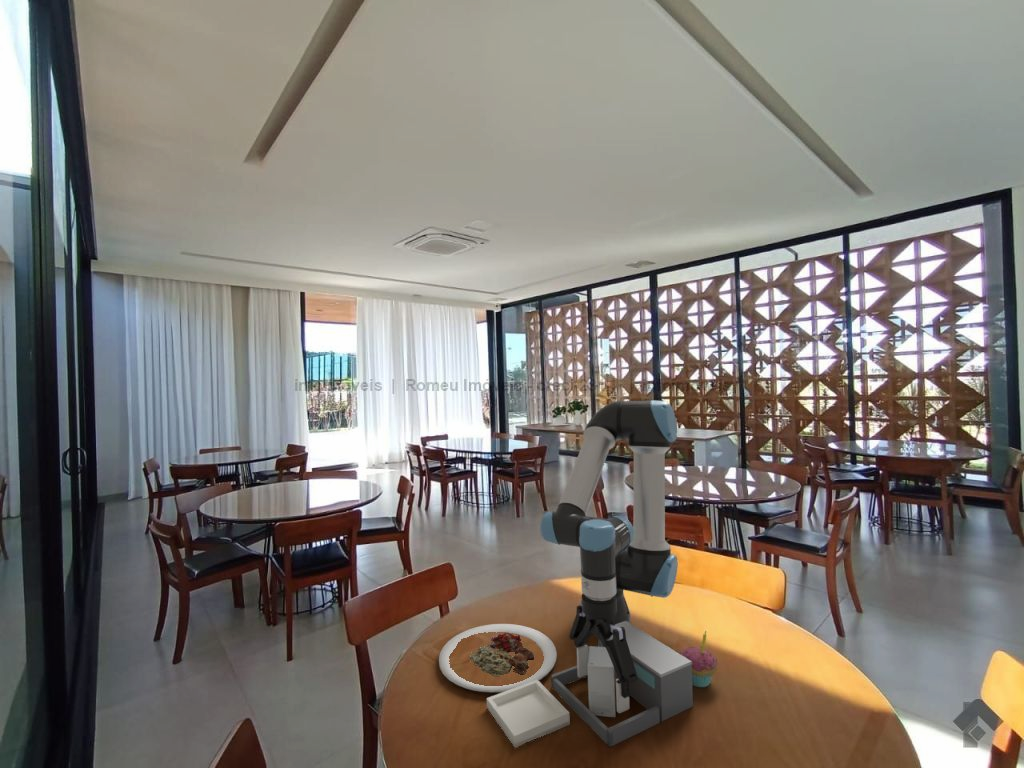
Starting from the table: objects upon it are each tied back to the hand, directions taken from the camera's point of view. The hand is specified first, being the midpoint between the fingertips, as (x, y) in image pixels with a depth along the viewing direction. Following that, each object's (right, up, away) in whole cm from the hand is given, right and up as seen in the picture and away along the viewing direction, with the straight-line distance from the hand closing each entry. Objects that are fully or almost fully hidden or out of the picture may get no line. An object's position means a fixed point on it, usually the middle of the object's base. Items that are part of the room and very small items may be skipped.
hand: (602, 691), depth 103 cm
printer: (+4, -3, +2) cm, 6 cm away
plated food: (-23, -4, +18) cm, 30 cm away
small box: (0, -3, 0) cm, 3 cm away
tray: (-16, -3, -3) cm, 17 cm away
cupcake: (+24, -2, +7) cm, 25 cm away
